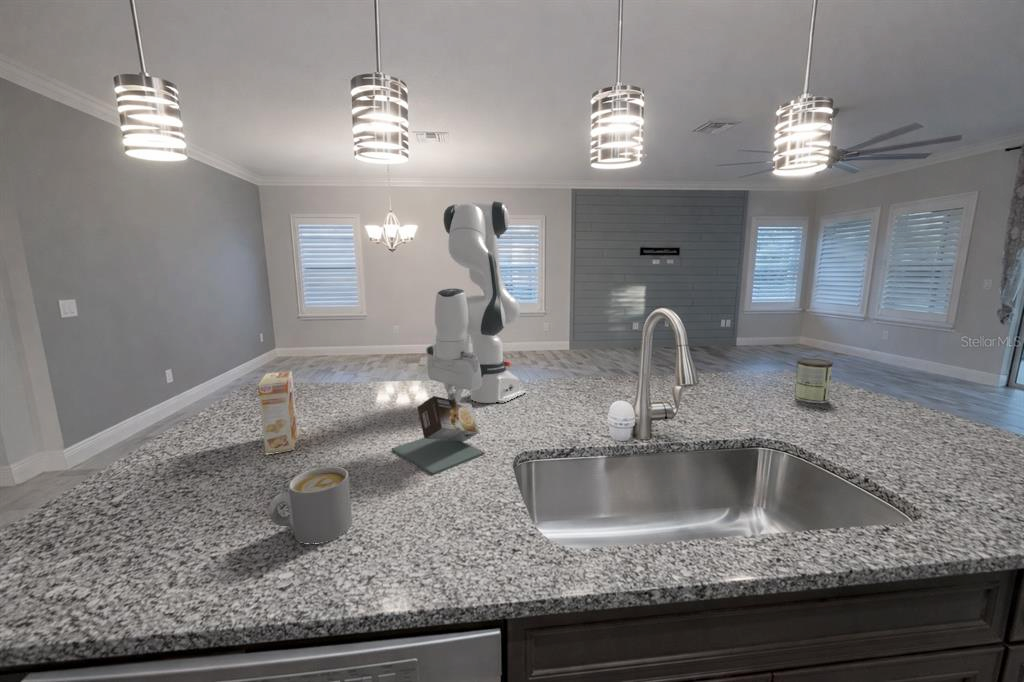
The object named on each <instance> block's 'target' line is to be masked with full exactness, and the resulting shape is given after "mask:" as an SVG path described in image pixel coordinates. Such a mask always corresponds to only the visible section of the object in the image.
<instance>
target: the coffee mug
mask: <svg viewBox="0 0 1024 682" xmlns="http://www.w3.org/2000/svg"><path fill="white" fill-rule="evenodd" d="M288 489H289V491H286V492H282V493H280V494H278V495H275V496H274V497H273V498H272V499H271V501H270V503H269V507H268V508H269V509H268V511H269V512H268V513H269V518H270V520H271V522H273V524H275V525H276V526H279V527H280V526H281V527H288V528H291V529H292V530H293V533H294V534H293V536H294V539H295V541H296V540H297V541H299V542H302V543H309V544H313V543H314V544H315V543H321V542H326V541H330V540H333V539H335V538H337V537H339V536H341V535H342V534H344V533H345V532H346V531H347V530H348V529H349V528H350V527H352V526H353V517H352V515H353V514H352V512H353V511H352V504H351V503H352V502H351V493H350V481H349V472H348V470H346V469H345V468H343V467H339V466H323V467H317V468H312V469H310V470H307V471H304V472H302V473H300V474H298V475H297V476H294V477H293V479H291V480H290V482H289V485H288ZM281 504H287V505H288V507H289V510H290V512H289V514H288V515H286V516H282V515H280V513H279V512H278V508H279V506H280V505H281ZM351 525H352V526H351ZM350 529H351V528H350ZM350 529H349V530H350ZM349 530H348V531H349ZM348 531H347V532H348ZM347 532H346V533H347ZM346 533H345V534H346ZM345 534H344V535H345ZM342 536H343V535H342ZM342 536H341V537H342ZM339 538H340V537H339ZM337 539H338V538H337ZM335 540H336V539H335ZM297 541H296V542H297ZM333 541H334V540H333ZM299 542H298V543H299ZM330 542H331V541H330Z"/></svg>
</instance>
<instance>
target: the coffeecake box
mask: <svg viewBox="0 0 1024 682" xmlns="http://www.w3.org/2000/svg"><path fill="white" fill-rule="evenodd" d="M292 372H293V371H291V370H290V371H289V370H288V371H278V372H277V371H276V372H266V373H265V375H264V376H263V377H262V379H261V380H260V381H259V383H258V384H257V390H258V401H259V406H260V407H259V408H260V415H261V424H262V425H261V427H262V435H263V444H264V451H265V454H266V453H276V452H284V451H289V450H294V451H295V448H296V444H295V443H297V439H296V438H298V435H297V432H298V424H297V415H296V414H297V413H296V412H297V411H296V405H295V404H296V402H295V391H294V384H293V383H294V382H293V373H292ZM294 447H295V448H294Z"/></svg>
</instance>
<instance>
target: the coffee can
mask: <svg viewBox="0 0 1024 682" xmlns="http://www.w3.org/2000/svg"><path fill="white" fill-rule="evenodd" d="M796 363H797V367H796V379H795V387H794V397H793V398H794V399H796V400H798V401H801V402H806V403H813V404H827V403H828V402H829V401H830V400H829V399H830V391H831V390H830V389H831V380H832V369H833V365H834V362H833V361H830V360H827V359H823V358H822V359H820V358H810V357H807V358H806V357H805V358H798V359H797V360H796Z"/></svg>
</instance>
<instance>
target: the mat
mask: <svg viewBox="0 0 1024 682" xmlns="http://www.w3.org/2000/svg"><path fill="white" fill-rule="evenodd" d="M391 451H392V452H393V453H395V454H396V455H399V456H400V457H402V458H403V459H405V460H407V461H409V462H411V463H412V464H413V465H416V466H417V467H419V468H420V469H421V470H424V471H426V472H427V473H429V474H430V475H431V476H434V475H437V474H439V473H441V472H444V471H446V470H449V469H451V468H454V467H457V466H459V465H461V464H464V463H466V462H469V461H472V460H473V459H475V458H478V457H481V456H483V455H485V451H484V450H481V449H479V448H476V447H474V446H473V445H470V444H468V443H466V442H465V441H464V442H461V441H450V440H439V439H428V438H424V437H422V438H419V439H417V440H413V441H409V442H407V443H403V444H401V445H398V446H395V447H391Z"/></svg>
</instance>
